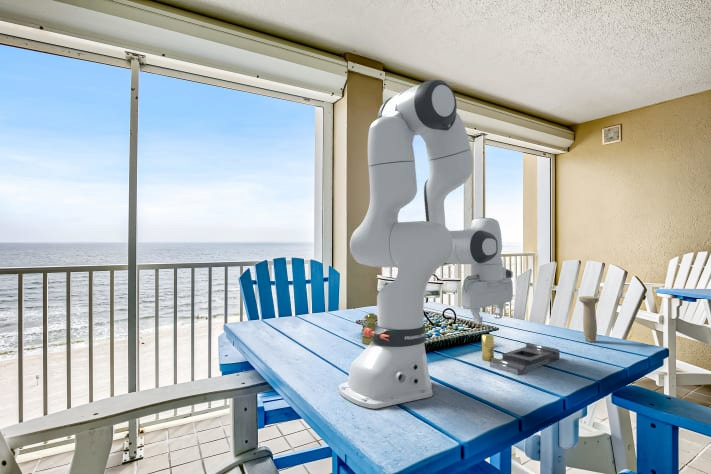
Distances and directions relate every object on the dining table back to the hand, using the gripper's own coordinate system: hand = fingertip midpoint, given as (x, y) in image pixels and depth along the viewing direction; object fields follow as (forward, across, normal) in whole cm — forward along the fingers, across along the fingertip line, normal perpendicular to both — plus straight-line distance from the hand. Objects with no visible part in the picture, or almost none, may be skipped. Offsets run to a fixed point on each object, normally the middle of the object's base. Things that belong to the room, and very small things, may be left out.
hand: (488, 320), depth 106 cm
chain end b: (+11, +8, -8) cm, 16 cm away
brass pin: (+11, -1, 0) cm, 11 cm away
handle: (+12, +44, -9) cm, 47 cm away
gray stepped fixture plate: (+11, +2, -8) cm, 14 cm away
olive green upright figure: (+12, -15, +37) cm, 41 cm away
